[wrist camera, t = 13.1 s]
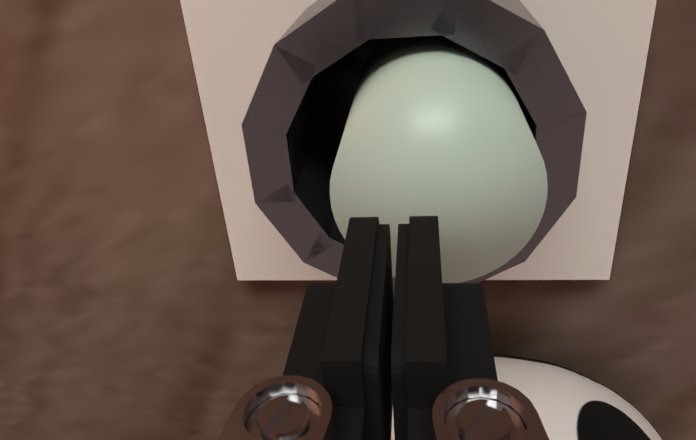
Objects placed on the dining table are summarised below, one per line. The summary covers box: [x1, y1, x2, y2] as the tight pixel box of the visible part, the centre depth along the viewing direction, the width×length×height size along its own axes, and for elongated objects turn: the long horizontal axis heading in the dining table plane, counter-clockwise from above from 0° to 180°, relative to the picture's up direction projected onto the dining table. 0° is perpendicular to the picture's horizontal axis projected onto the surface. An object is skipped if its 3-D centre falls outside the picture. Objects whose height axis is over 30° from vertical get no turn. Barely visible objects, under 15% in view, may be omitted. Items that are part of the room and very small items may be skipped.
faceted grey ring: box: [242, 0, 587, 295], centre depth 18 cm, size 9×9×5 cm
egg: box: [330, 35, 548, 283], centre depth 16 cm, size 5×5×7 cm
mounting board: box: [180, 0, 657, 280], centre depth 21 cm, size 15×15×1 cm
